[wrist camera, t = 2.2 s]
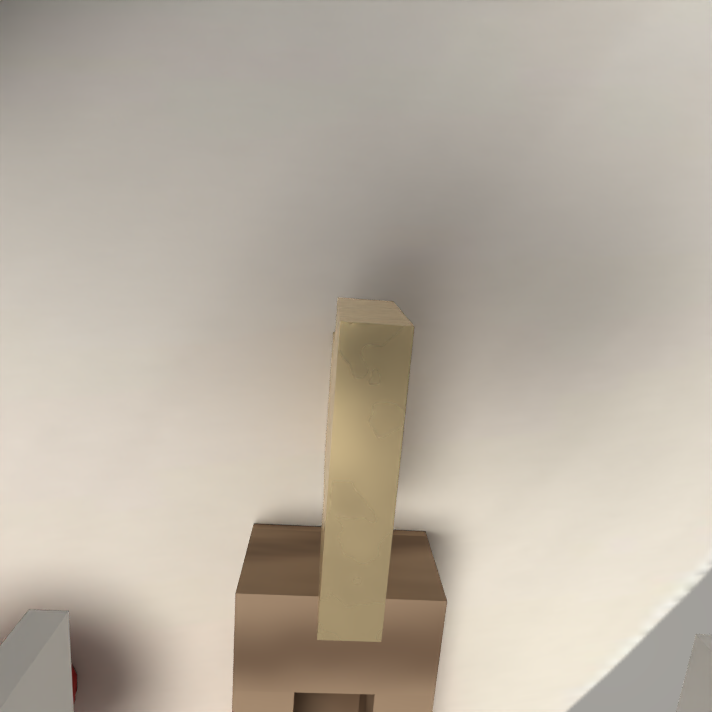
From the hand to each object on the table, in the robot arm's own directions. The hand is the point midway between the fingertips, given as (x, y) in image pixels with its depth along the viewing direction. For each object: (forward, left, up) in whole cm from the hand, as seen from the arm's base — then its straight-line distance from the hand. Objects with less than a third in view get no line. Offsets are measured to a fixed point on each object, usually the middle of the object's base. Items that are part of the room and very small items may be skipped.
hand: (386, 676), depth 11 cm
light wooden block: (0, 0, -19) cm, 19 cm away
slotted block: (+18, 0, -19) cm, 26 cm away
